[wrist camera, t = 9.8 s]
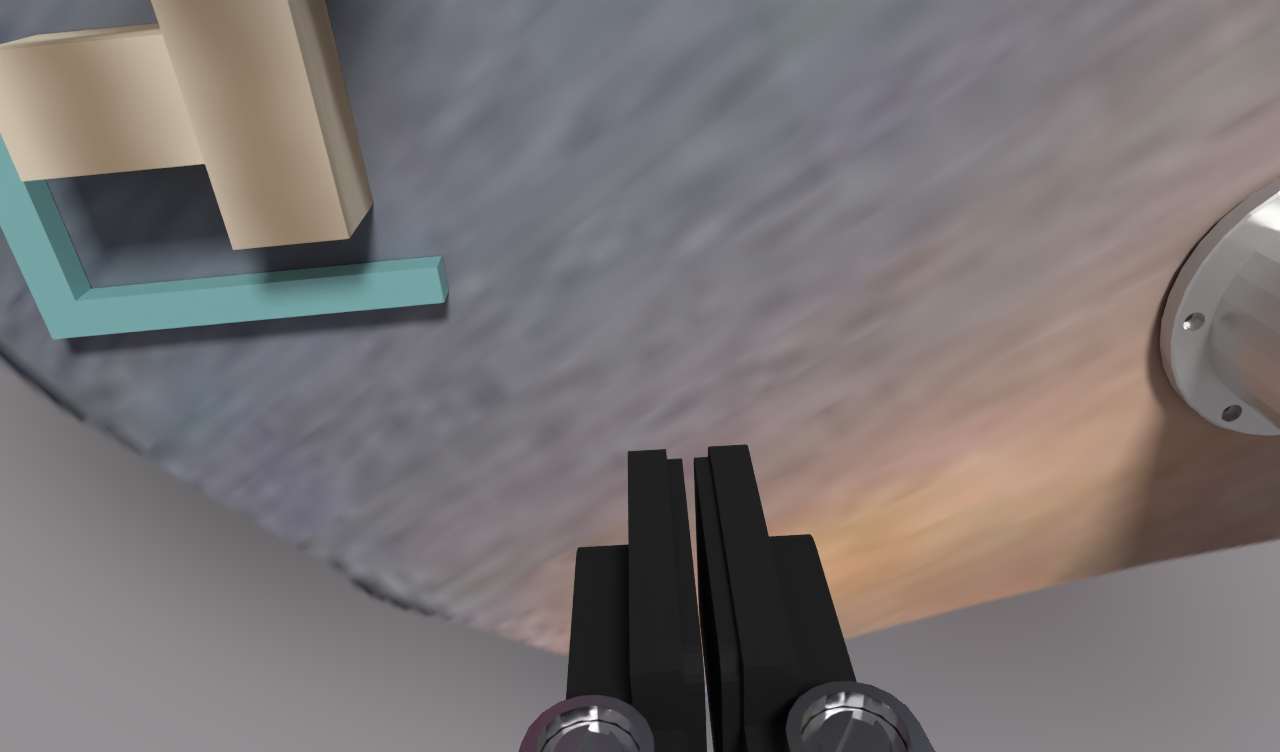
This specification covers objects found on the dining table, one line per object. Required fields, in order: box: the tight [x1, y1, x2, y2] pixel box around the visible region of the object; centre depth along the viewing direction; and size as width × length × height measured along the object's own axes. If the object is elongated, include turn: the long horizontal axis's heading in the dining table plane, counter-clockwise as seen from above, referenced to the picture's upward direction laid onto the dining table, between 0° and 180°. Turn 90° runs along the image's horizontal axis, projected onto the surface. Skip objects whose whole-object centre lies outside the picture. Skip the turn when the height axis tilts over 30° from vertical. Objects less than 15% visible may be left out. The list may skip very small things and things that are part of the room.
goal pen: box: [0, 133, 449, 339], centre depth 30 cm, size 16×18×1 cm
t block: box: [0, 0, 373, 250], centre depth 29 cm, size 10×10×4 cm
